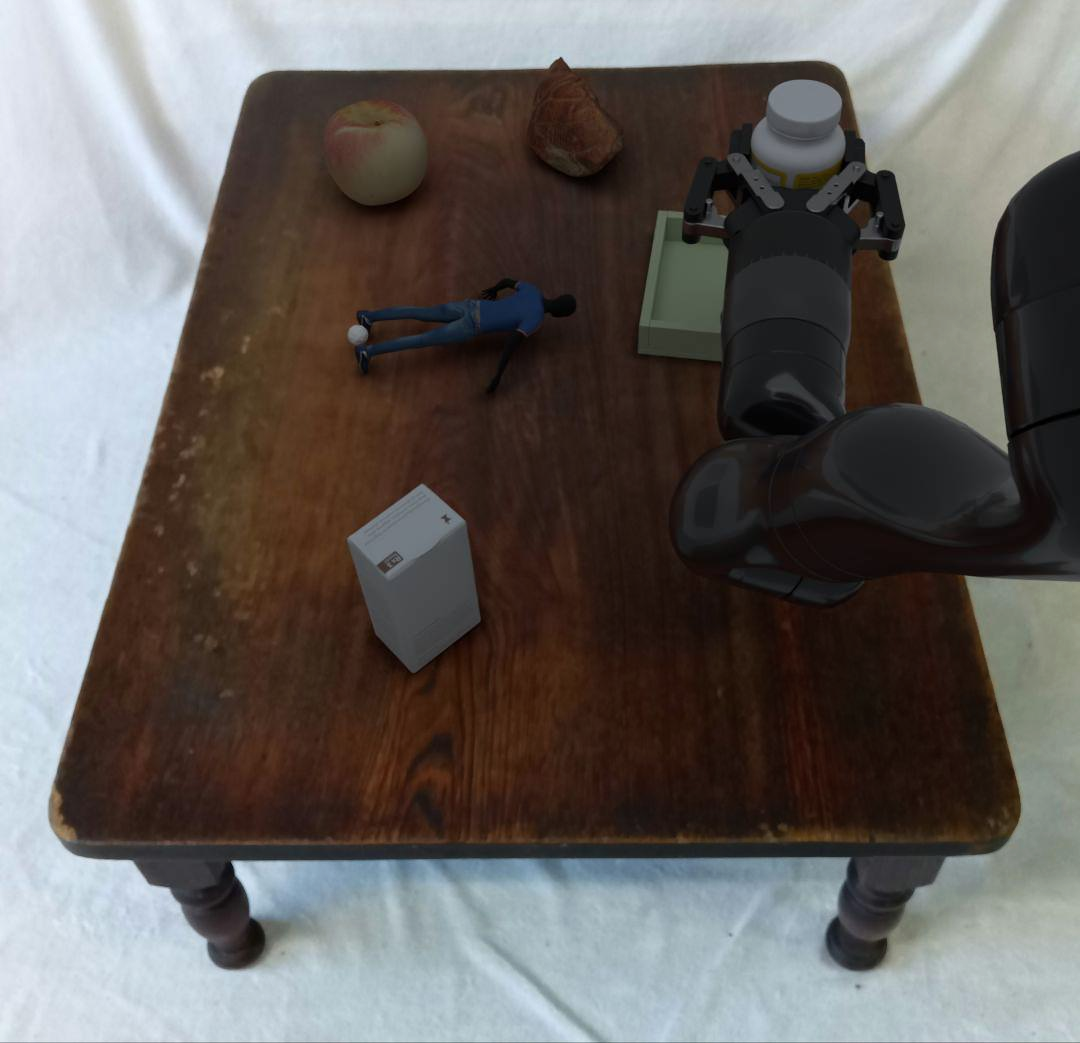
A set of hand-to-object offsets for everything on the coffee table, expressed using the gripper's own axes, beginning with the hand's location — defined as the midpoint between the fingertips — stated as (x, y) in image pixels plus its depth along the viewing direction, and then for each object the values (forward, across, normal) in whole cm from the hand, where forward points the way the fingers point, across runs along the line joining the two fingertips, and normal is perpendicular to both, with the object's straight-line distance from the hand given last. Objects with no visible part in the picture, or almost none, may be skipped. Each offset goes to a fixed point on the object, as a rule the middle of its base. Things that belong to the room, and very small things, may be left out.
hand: (796, 138), depth 81 cm
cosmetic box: (-31, +21, +18) cm, 42 cm away
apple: (+13, +34, +18) cm, 41 cm away
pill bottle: (-2, 0, +7) cm, 7 cm away
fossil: (+21, +18, +18) cm, 33 cm away
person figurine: (-5, +23, +18) cm, 30 cm away
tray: (+2, +2, +18) cm, 18 cm away
